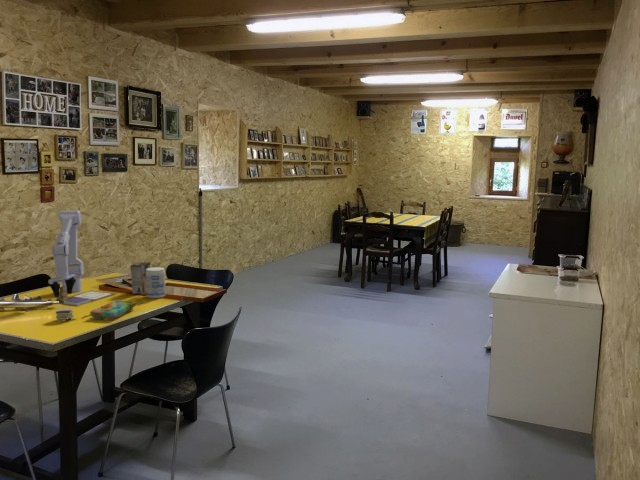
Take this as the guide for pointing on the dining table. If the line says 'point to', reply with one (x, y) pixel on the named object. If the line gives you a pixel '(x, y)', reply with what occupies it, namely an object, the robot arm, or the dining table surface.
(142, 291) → the coffee box
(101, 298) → the desk board
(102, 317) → the puzzle game
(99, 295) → the paper
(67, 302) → the ink pad
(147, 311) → the dining table surface
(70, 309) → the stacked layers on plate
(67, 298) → the stamp
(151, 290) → the supplement tub
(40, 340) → the dining table surface
